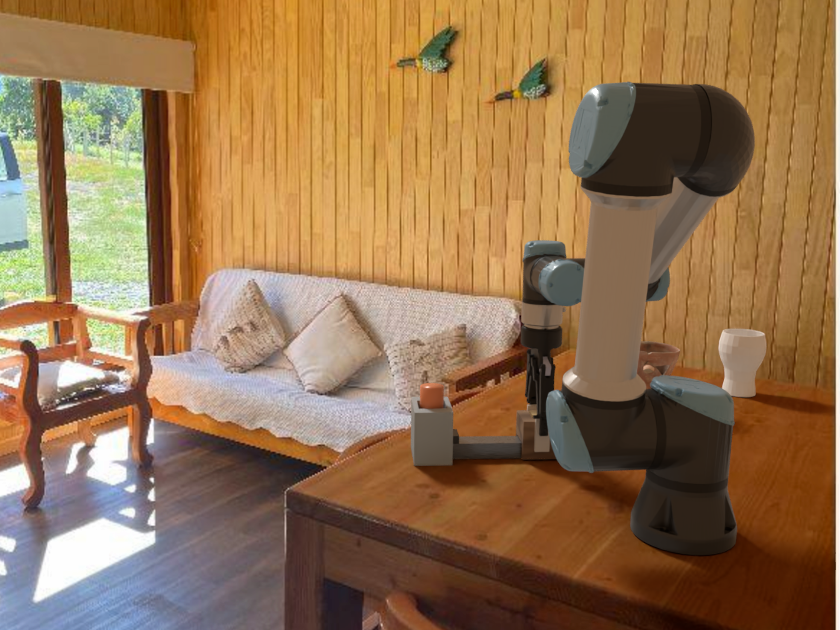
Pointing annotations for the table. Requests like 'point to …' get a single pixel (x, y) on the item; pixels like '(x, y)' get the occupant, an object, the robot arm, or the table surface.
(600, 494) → the table surface
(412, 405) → the grey button housing
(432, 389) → the button
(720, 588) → the table surface
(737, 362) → the cup
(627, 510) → the table surface
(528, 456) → the block
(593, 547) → the table surface
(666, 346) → the ceramic jug
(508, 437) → the rail
